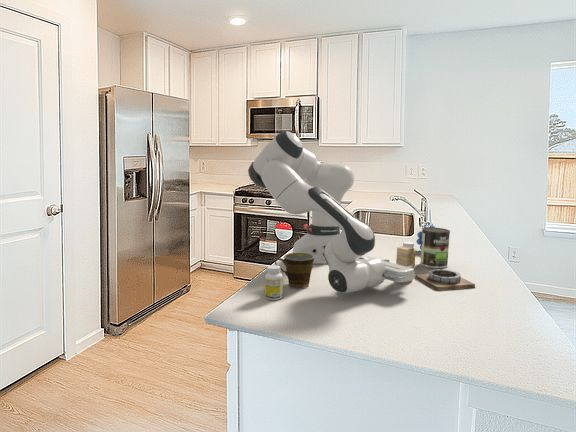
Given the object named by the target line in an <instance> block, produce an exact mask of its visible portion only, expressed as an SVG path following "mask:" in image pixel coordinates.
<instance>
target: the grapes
mask: <svg viewBox="0 0 576 432" xmlns="http://www.w3.org/2000/svg"><path fill="white" fill-rule="evenodd" d="M423 228H436V226H435V225H430V226H423V227H422V229H423ZM422 229H421V231H420V230H419V232H418V233H417V237H418V238H417V239H416V244H417V245H419V249H420V250H421V249H422Z"/></svg>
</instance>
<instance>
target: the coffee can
mask: <svg viewBox="0 0 576 432" xmlns="http://www.w3.org/2000/svg"><path fill="white" fill-rule="evenodd" d="M422 228H423V227H422ZM421 231H422V249H420V251H421V253H420V263H419V264H420V265H421V266H423V267H426V268H431V269H446V268H447V267H448V261H449V260H448V259H449V249H450V248H449V245H450V233H451V230H450V229H447V228H443V227H442V228H441V227H435V228H429V227H428V228H423V229H421Z"/></svg>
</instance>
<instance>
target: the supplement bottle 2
mask: <svg viewBox="0 0 576 432" xmlns="http://www.w3.org/2000/svg"><path fill="white" fill-rule="evenodd" d="M402 246H407V247H412V248H414V247H415V243H414V242H412V241H403V243H402ZM415 263H416V248H414V257H413V269H415V267H416V266H415V265H416V264H415Z"/></svg>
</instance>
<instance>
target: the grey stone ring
mask: <svg viewBox="0 0 576 432" xmlns="http://www.w3.org/2000/svg"><path fill="white" fill-rule="evenodd" d="M428 274H429V279H430V280H431V281H433V282H438V283H443V284H456V283H459V282H460V280H461V278H462V277H461V276H462V275H461V273H459V272H457V271H454V270H450V269H444V268H434V269H432V270H429V271H428ZM442 276H448V277H442Z"/></svg>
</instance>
